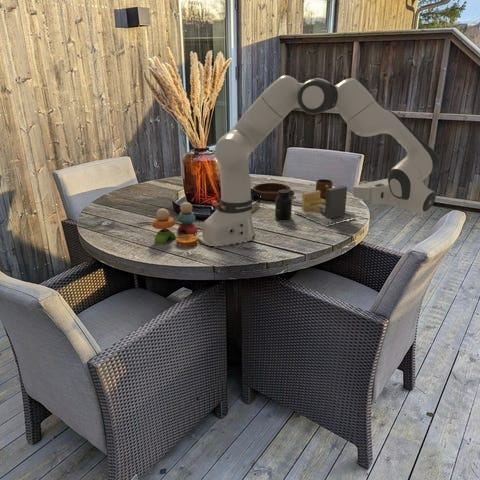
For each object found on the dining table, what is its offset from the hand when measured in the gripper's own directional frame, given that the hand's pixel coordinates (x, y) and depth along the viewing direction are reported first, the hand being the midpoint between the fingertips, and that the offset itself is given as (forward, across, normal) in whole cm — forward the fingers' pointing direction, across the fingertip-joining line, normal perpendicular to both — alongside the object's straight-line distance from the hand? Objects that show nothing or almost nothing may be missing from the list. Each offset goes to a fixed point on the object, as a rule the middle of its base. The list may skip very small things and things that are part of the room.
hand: (360, 183), depth 167 cm
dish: (+54, +1, +18) cm, 57 cm away
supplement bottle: (+26, +16, +18) cm, 36 cm away
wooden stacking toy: (+31, +61, +18) cm, 70 cm away
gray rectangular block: (+14, 0, +16) cm, 22 cm away
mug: (+33, -14, +18) cm, 40 cm away
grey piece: (+17, 0, +18) cm, 25 cm away
